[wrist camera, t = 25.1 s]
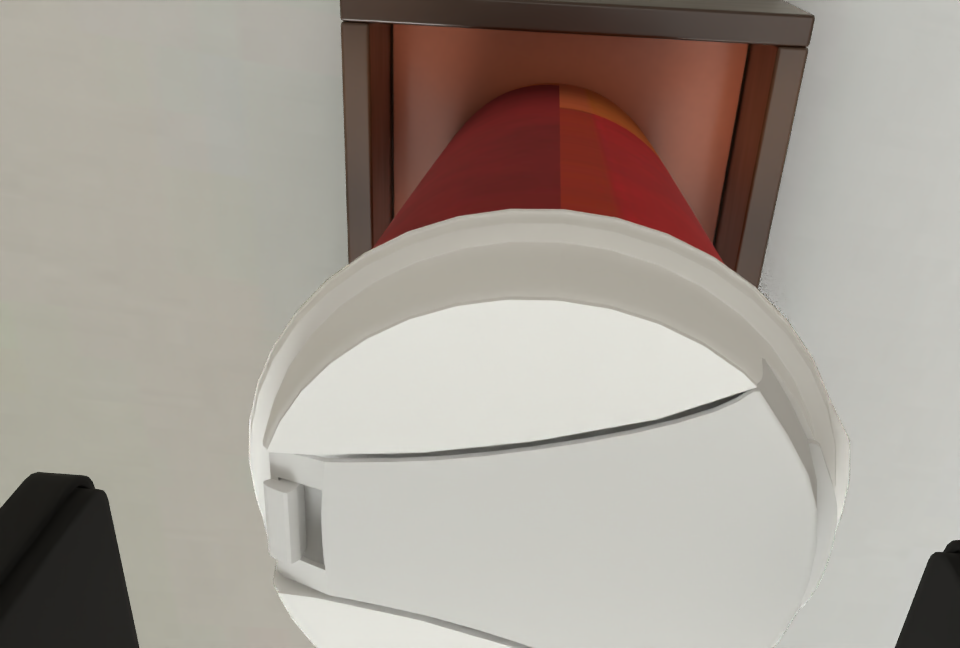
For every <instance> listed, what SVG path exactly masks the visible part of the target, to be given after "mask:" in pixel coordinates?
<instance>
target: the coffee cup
mask: <svg viewBox="0 0 960 648" xmlns="http://www.w3.org/2000/svg"><path fill="white" fill-rule="evenodd" d="M249 463H250V469H251V474H252V480H253V485H254V491H255V496H256V499H257V503H258V506H259V509H260V512H261V514H262V517H263V521H264V527H265V530H266V533H267V538H268V551H269V555H270V556H271V557H273V558H275V559H276V560H277V562H276V567H275V573H274V578H273V584H274V587H275V588H276V590H277V594H278V596H279V598H280V599H281V601H282V603H283V604H284V606H285V608H286V609H287V611H288V613H289V615H290V616H291V618H292V619H293V621H294V622H295V623H296V624H297V625H298V627H299V628H300V629H301V630H302V632H303V633H304V634H305V635H306V636H307V638H308V639H309V640H310V641H311V643H312V644H313V645H314V646H315V647H316V648H774V647H775V646H776V645H777V644H778V642H779V641H780V639H781V638H782V636H783V635H784V633H785V631H786V630H787V628H788V627H789V625H790V624H791V622H792V621H793V619H794V617H795V616H796V614H797V612H798V611H799V610H800V609H801V608H802V607H803V606H804V605H805V604H806V603H807V602H808V600H809V599H810V597H811V596H812V595H813V593H814V592H815V590H816V589H817V587H818V585H819V583H820V581H821V579H822V576H823V574H824V572H825V569H826V566H827V563H828V561H829V558H830V555H831V551H832V547H833V544H834V540H835V533H836V529H837V527H838V524H839V522H840V520H841V517H842V512H843V508H844V503H845V498H846V494H847V489H848V485H849V476H850V440H849V438H848V436H847V433H846V431H845V429H844V427H843V425H842V423H841V421H840V419H839V417H838V414H837V412H836V410H835V408H834V406H833V404H832V402H831V400H830V397H829V395H828V392H827V390H826V388H825V385H824V383H823V380H822V378H821V376H820V373H819V371H818V368H817V366H816V364H815V361H814V359H813V357H812V356H811V354H810V353H809V351H808V350H807V348H806V347H805V345H804V344H803V342H802V341H801V339H800V338H799V336H798V335H797V333H796V332H795V330H794V329H793V327H792V326H791V324H790V323H789V321H788V320H787V319H786V318H785V317H784V316H783V315H782V314H781V313H780V312H779V311H778V310H777V309H776V308H775V307H774V306H773V305H772V304H771V303H770V302H769V300H768V299H767V298H766V297H765V296H764V295H763V294H762V293H761V292H760V291H759V290H758V289H757V288H756V287H755V286H754V285H752V284H751V283H750V282H748V281H747V280H745V279H744V278H743V277H741V276H740V275H738V274H737V273H736V272H734V271H733V270H732V269H730V268H729V267H727V266H726V265H725V264H724V262H723V261H722V259H721V258H720V256H719V254H718V253H717V251H716V249H715V248H714V246H713V244H712V243H711V241H710V239H709V238H708V236H707V234H706V233H705V231H704V229H703V228H702V226H701V224H700V223H699V221H698V219H697V218H696V216H695V214H694V213H693V211H692V210H691V208H690V206H689V205H688V203H687V201H686V200H685V198H684V197H683V195H682V193H681V192H680V190H679V188H678V187H677V185H676V184H675V182H674V180H673V179H672V177H671V175H670V174H669V172H668V171H667V169H666V167H665V166H664V164H663V163H662V161H661V159H660V158H659V156H658V155H657V153H656V152H655V150H654V148H653V147H652V145H651V144H650V142H649V141H648V140H647V138H646V137H645V135H644V134H643V133H642V131H641V130H640V129H639V127H638V126H637V125H636V124H635V122H634V121H633V120H632V119H631V118H630V117H629V116H628V115H627V114H626V113H625V112H624V111H623V110H622V109H621V108H619V107H618V106H617V105H616V104H614V103H613V102H611V101H610V100H608V99H607V98H605V97H603V96H601V95H599V94H597V93H595V92H593V91H590V90H588V89H585V88H581V87H578V86H573V85H568V84H560V83H541V84H533V85H528V86H524V87H520V88H517V89H514V90H511V91H509V92H506V93H504V94H502V95H500V96H498V97H497V98H495V99H493V100H492V101H490V102H489V103H487V104H486V105H484V106H483V107H482V108H481V109H480V110H478V111H477V112H476V113H475V114H474V115H473V116H472V117H471V118H470V119H469V120H468V121H467V122H466V123H465V124H464V125H463V127H462V128H461V129H460V130H459V131H458V132H457V134H456V135H455V136H454V137H453V139H452V140H451V141H450V143H449V144H448V145H447V147H446V148H445V149H444V151H443V152H442V153H441V155H440V156H439V157H438V159H437V160H436V161H435V163H434V164H433V165H432V167H431V168H430V169H429V171H428V172H427V173H426V175H425V176H424V178H423V179H422V180H421V182H420V183H419V184H418V186H417V187H416V188H415V190H414V191H413V193H412V194H411V195H410V197H409V198H408V199H407V201H406V202H405V204H404V205H403V206H402V208H401V209H400V211H399V212H398V213H397V215H396V216H395V218H394V219H393V220H392V222H391V223H390V225H389V226H388V227H387V229H386V230H385V231H384V233H383V234H382V236H381V237H380V238H379V240H378V241H377V243H376V244H375V245H374V247H373V248H372V249H371V250H369V251H367V252H365V253H364V254H362V255H361V256H359V257H358V258H357V259H355V260H354V261H352V262H351V263H350V264H348V265H347V266H346V267H344V268H343V269H341V270H340V271H339V272H337V273H336V274H334V275H333V276H332V277H330V278H329V279H327V280H326V281H325V282H324V283H323V284H322V285H321V286H320V288H319V289H318V290H317V291H316V292H315V293H314V294H313V295H312V296H311V297H310V298H309V299H308V300H307V301H306V302H305V303H304V304H303V305H302V306H301V307H300V308H299V309H298V310H297V311H296V313H295V314H294V316H293V317H292V319H291V320H290V322H289V323H288V325H287V326H286V328H285V329H284V331H283V332H282V334H281V335H280V337H279V338H278V340H277V341H276V343H275V344H274V346H273V347H272V349H271V352H270V354H269V356H268V359H267V361H266V364H265V366H264V368H263V371H262V373H261V376H260V378H259V380H258V383H257V386H256V390H255V395H254V400H253V405H252V410H251V415H250V420H249Z"/></svg>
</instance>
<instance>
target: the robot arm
mask: <svg viewBox="0 0 960 648" xmlns="http://www.w3.org/2000/svg"><path fill="white" fill-rule="evenodd" d="M0 648H139V644H138V639H137V634H136V630H135V625H134V620H133V615H132V611H131V606H130V601H129V596H128V592H127V587H126V582H125V577H124V573H123V568H122V563H121V558H120V554H119V549H118V544H117V539H116V535H115V530H114V525H113V520H112V516H111V511H110V506H109V501H108V498H107V495H106V493H105V492H104V491H103V490H99V489H95V487H94V484H93V482H92V481H91V479H90V478H89V477H87V476H83V475H70V474H56V473H43V472H37V473H34V474H31V475H30V476H29V477H28V478H26V479H25V480H24V481H23V483H22V484H21V485H20V486H19V487H18V488H17V490H16V491H15V492H14V493H13V494H12V495H11V496H10V498H9V499H8V500H7V501H6V502H5V503H4V505H3V506H2V507H1V508H0ZM895 648H960V540H955V541H952V542H950V543H949V544H948V545H947V546H946V548H945V550H944V552H935V553H934V554H932V555H931V557H930V559H929V560H928V563H927V565H926V568H925V571H924V573H923V576H922V578H921V581H920V584H919V586H918V589H917V591H916V594H915V597H914V599H913V602H912V604H911V607H910V610H909V612H908V615H907V617H906V620H905V623H904V625H903V628H902V631H901V633H900V636H899V638H898V641H897V644H896V646H895Z"/></svg>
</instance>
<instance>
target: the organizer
mask: <svg viewBox="0 0 960 648" xmlns="http://www.w3.org/2000/svg"><path fill="white" fill-rule="evenodd" d="M340 16H341V20H343V22H342V23H341V45H342V76H343V107H344V138H345V169H346V200H347V231H348V261H349V264H350V263H351V262H352V261H354V260H355V259H357V258H358V257H359V256H361V255H362V254H364V253H365V252H367V251H369V250H371V249H372V248H373V247H374V245H375V244H376V243H377V241H378V240H379V238H380V237H381V236H382V234H383V233H384V231H385V230H386V229H387V227H388V226H389V225H390V223H391V222H392V220H393V219H394V218H395V216H396V215H397V213H398V212H399V211H400V209H401V208H402V206H403V205H404V204H405V202H406V201H407V199H408V198H409V197H410V195H411V194H412V193H413V191H414V190H415V188H416V187H417V186H418V184H419V183H420V182H421V180H422V179H423V178H424V176H425V175H426V173H427V172H428V171H429V169H430V168H431V167H432V165H433V164H434V163H435V161H436V160H437V159H438V157H439V156H440V155H441V153H442V152H443V151H444V149H445V148H446V147H447V145H448V144H449V143H450V141H451V140H452V139H453V137H454V136H455V135H456V134H457V132H458V131H459V130H460V129H461V128H462V127H463V125H464V124H465V123H466V122H467V121H468V120H469V119H470V118H471V117H472V116H473V115H474V114H475V113H476V112H477V111H478V110H480V109H481V108H482V107H483V106H484V105H486V104H487V103H489V102H490V101H492V100H493V99H495V98H497V97H498V96H500V95H502V94H504V93H506V92H509V91H511V90H514V89H517V88H520V87H524V86H528V85H533V84H541V83H560V84H568V85H573V86H578V87H581V88H585V89H588V90H590V91H593V92H595V93H597V94H599V95H601V96H603V97H605V98H607V99H608V100H610V101H611V102H613V103H614V104H616V105H617V106H618V107H619V108H621V109H622V110H623V111H624V112H625V113H626V114H627V115H628V116H629V117H630V118H631V119H632V120H633V121H634V122H635V124H636V125H637V126H638V127H639V129H640V130H641V131H642V133H643V134H644V135H645V137H646V138H647V140H648V141H649V142H650V144H651V145H652V147H653V148H654V150H655V152H656V153H657V155H658V156H659V158H660V159H661V161H662V163H663V164H664V166H665V167H666V169H667V171H668V172H669V174H670V175H671V177H672V179H673V180H674V182H675V184H676V185H677V187H678V188H679V190H680V192H681V193H682V195H683V197H684V198H685V200H686V201H687V203H688V205H689V206H690V208H691V210H692V211H693V213H694V214H695V216H696V218H697V219H698V221H699V223H700V224H701V226H702V228H703V229H704V231H705V233H706V234H707V236H708V238H709V239H710V241H711V243H712V244H713V246H714V248H715V249H716V251H717V253H718V254H719V256H720V258H721V259H722V261H723V262H724V264H725V265H726V266H727V267H729V268H730V269H732V270H733V271H734V272H736V273H737V274H738V275H740V276H741V277H743V278H744V279H745V280H747V281H748V282H750V283H751V284H752V285H754V286H755V287H756V288H757V289H758V286H759V282H760V277H761V272H762V267H763V263H764V258H765V253H766V248H767V244H768V239H769V234H770V229H771V225H772V220H773V215H774V210H775V206H776V201H777V196H778V191H779V187H780V182H781V177H782V172H783V168H784V163H785V158H786V154H787V149H788V144H789V139H790V135H791V130H792V125H793V120H794V116H795V111H796V106H797V101H798V97H799V92H800V87H801V82H802V78H803V73H804V68H805V63H806V59H807V54H808V48H806V47H807V46H808V45H809V44H810V40H811V35H812V30H813V25H814V21H815V16H814V15H812V14H810V13H808V12H806V11H804V10H801V9H799V8H797V7H795V6H793V5H791V4H789V3H787V2H785V1H783V0H340Z"/></svg>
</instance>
